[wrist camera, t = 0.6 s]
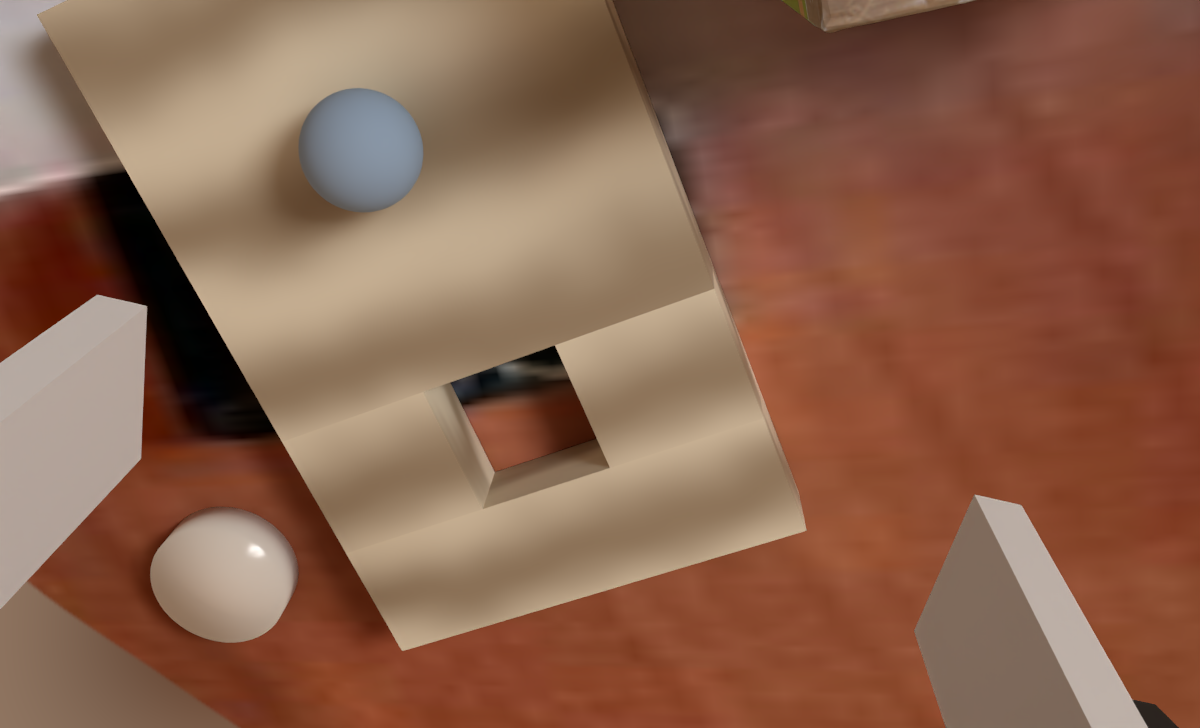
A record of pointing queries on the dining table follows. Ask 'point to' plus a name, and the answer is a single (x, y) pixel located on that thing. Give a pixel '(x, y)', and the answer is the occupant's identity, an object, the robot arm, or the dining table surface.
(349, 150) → the ball
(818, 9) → the tea box
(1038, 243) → the dining table surface
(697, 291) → the board
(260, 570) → the glossy white dome
